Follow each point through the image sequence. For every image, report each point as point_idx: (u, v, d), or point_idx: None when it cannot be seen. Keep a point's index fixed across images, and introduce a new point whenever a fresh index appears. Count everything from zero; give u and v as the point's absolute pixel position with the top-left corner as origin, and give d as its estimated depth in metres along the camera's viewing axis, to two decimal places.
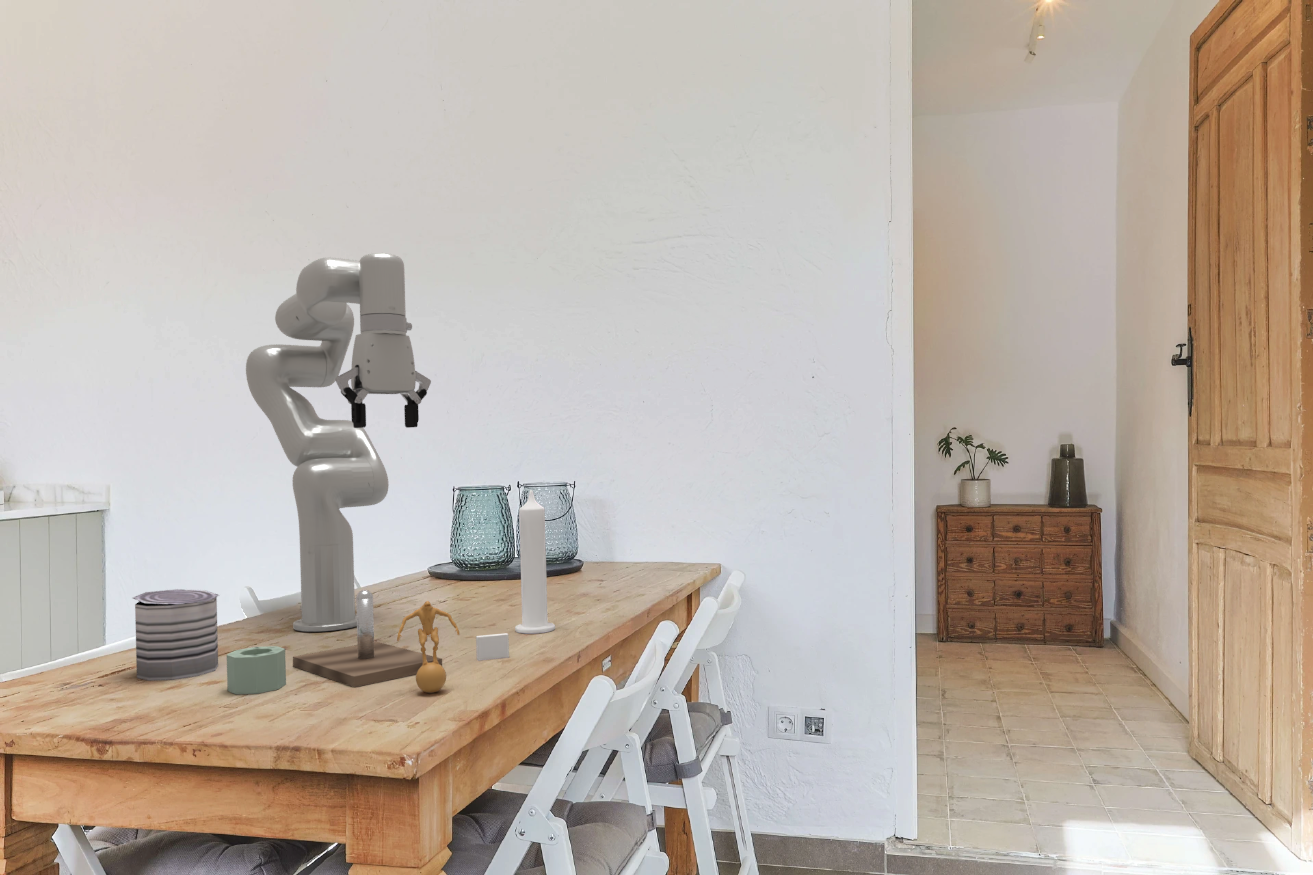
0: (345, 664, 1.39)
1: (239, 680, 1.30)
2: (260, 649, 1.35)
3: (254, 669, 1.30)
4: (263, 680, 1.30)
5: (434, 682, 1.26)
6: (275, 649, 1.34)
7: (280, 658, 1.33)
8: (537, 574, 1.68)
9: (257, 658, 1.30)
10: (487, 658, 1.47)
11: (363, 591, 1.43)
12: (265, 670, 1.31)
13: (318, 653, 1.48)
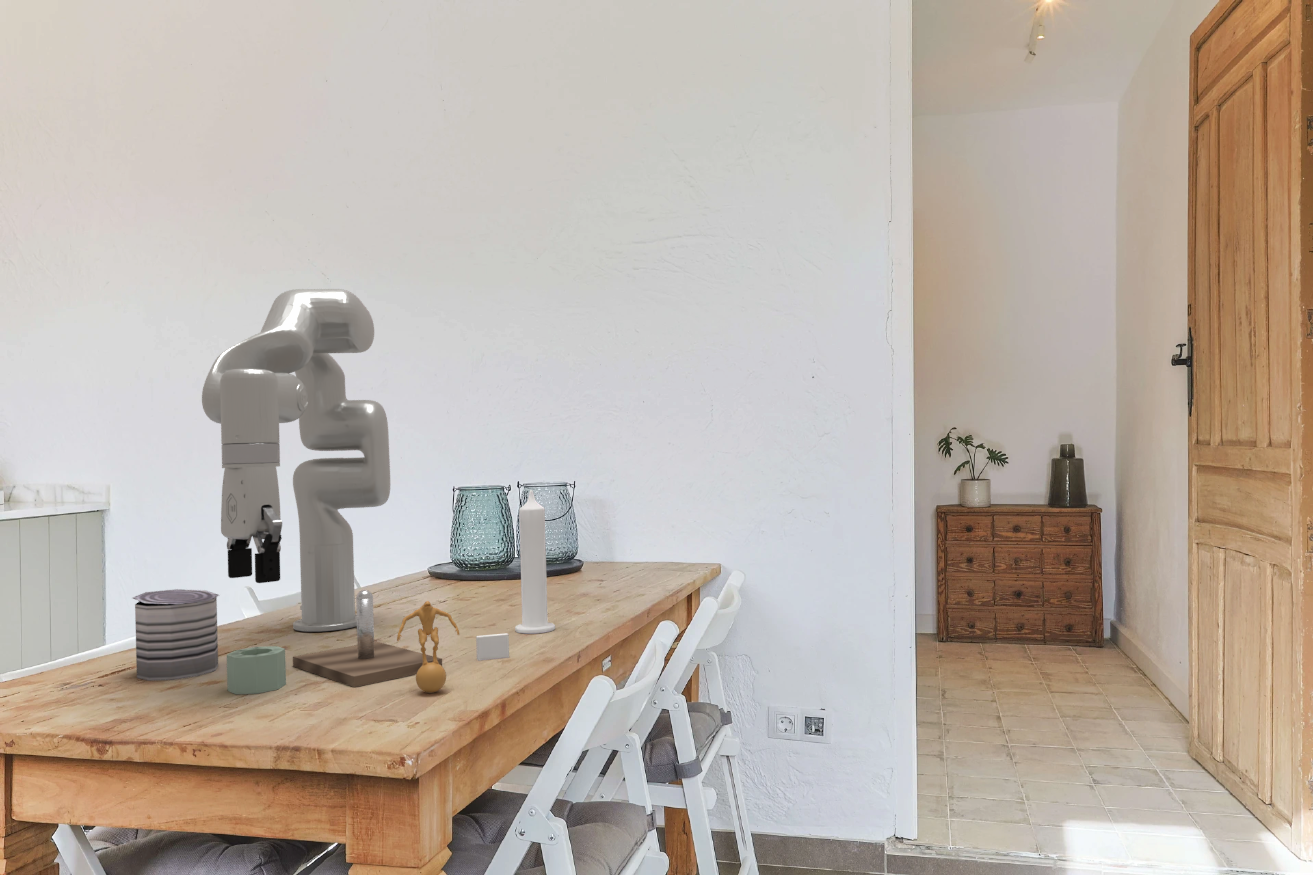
0: (345, 664, 1.39)
1: (239, 680, 1.30)
2: (260, 649, 1.35)
3: (254, 669, 1.30)
4: (263, 680, 1.30)
5: (434, 682, 1.26)
6: (275, 649, 1.34)
7: (280, 658, 1.33)
8: (537, 574, 1.68)
9: (257, 658, 1.30)
10: (487, 658, 1.47)
11: (363, 591, 1.43)
12: (265, 670, 1.31)
13: (318, 653, 1.48)
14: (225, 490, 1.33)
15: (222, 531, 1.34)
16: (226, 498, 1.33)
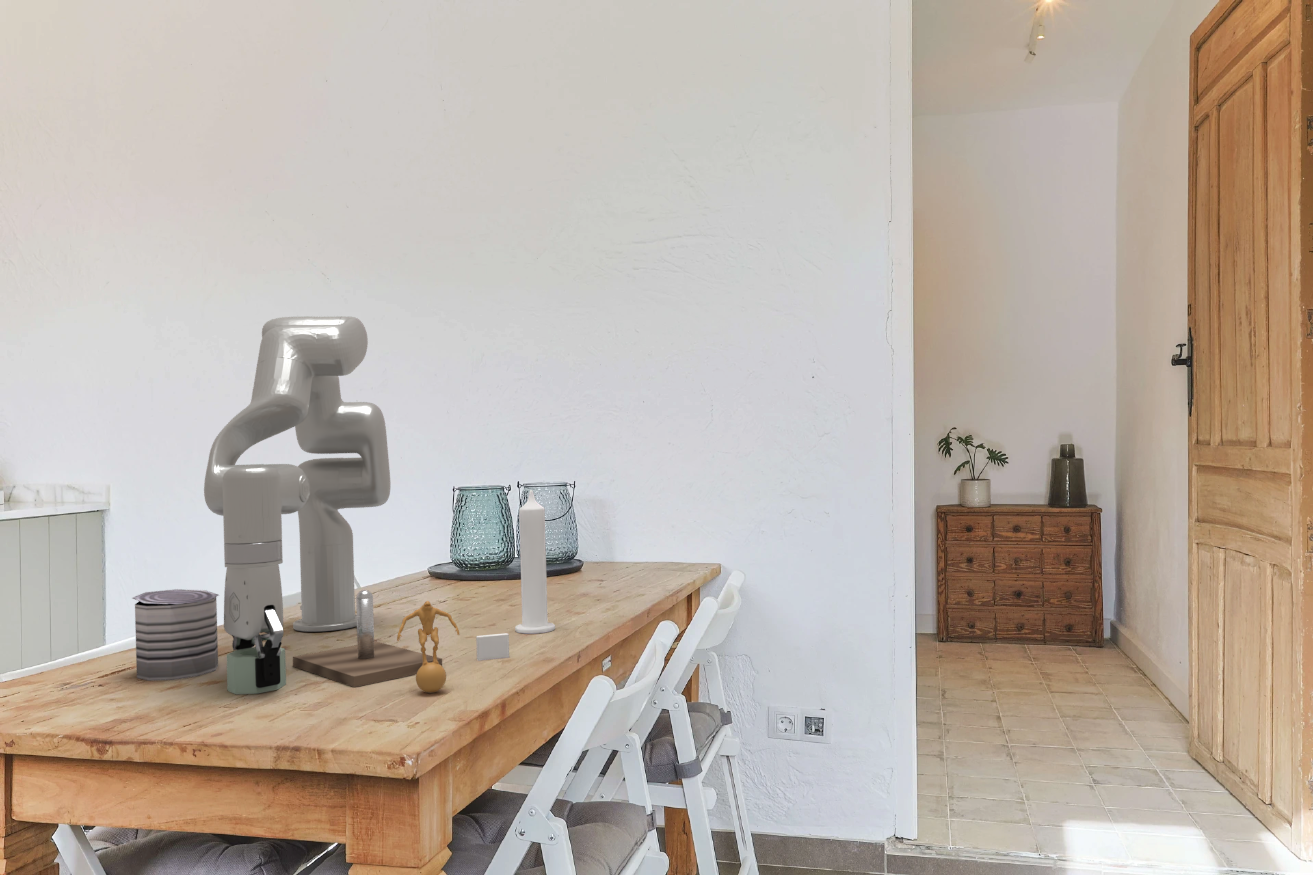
0: (345, 664, 1.39)
1: (239, 680, 1.30)
2: None
3: (254, 669, 1.30)
4: None
5: (434, 682, 1.26)
6: None
7: (280, 658, 1.33)
8: (537, 574, 1.68)
9: None
10: (487, 658, 1.47)
11: (363, 591, 1.43)
12: None
13: (318, 653, 1.48)
14: (228, 587, 1.33)
15: (225, 628, 1.34)
16: (229, 596, 1.33)
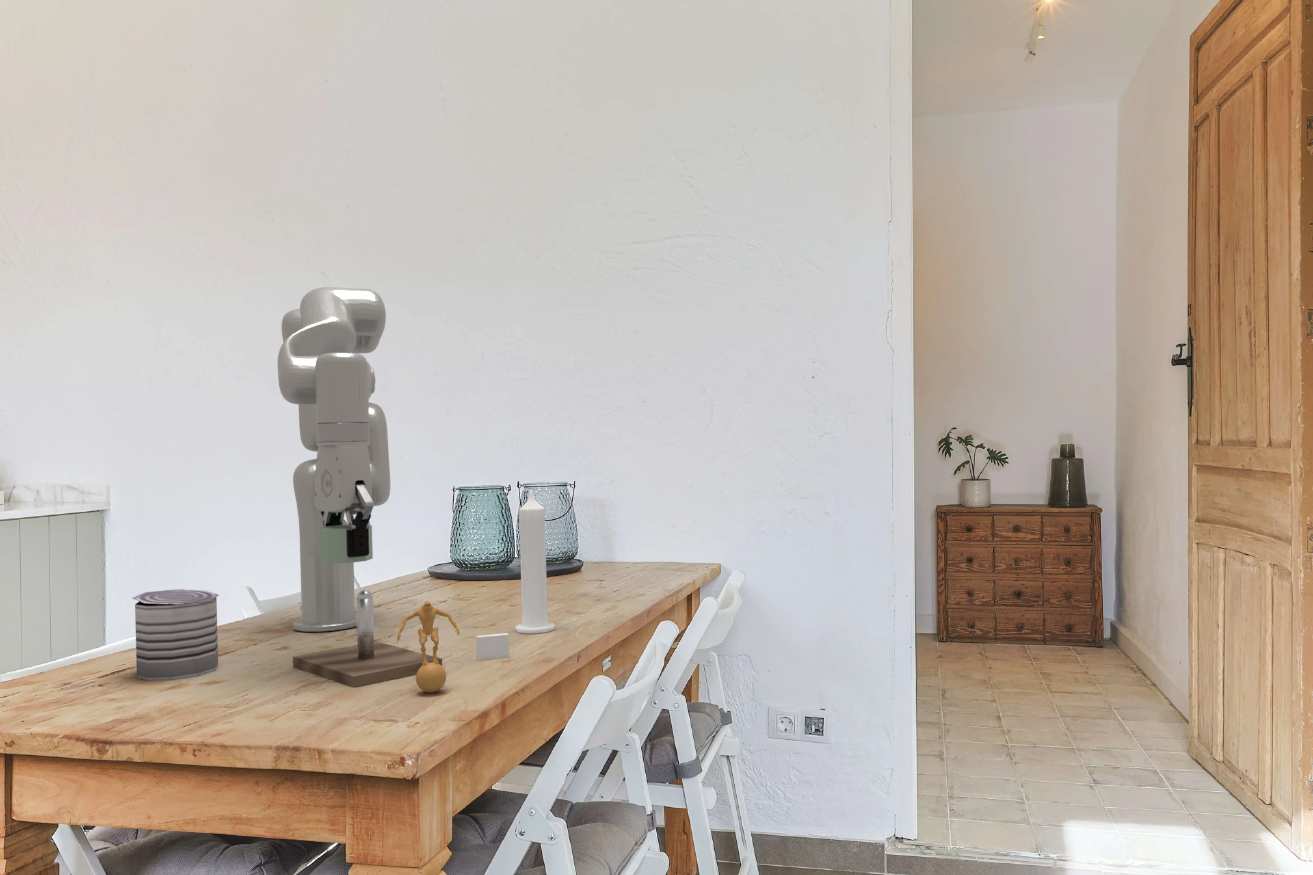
0: (345, 664, 1.39)
1: (331, 550, 1.39)
2: (348, 526, 1.44)
3: (345, 540, 1.39)
4: None
5: (434, 682, 1.26)
6: None
7: None
8: (537, 574, 1.68)
9: None
10: (487, 658, 1.47)
11: (363, 591, 1.43)
12: None
13: (318, 653, 1.48)
14: (320, 466, 1.42)
15: (316, 505, 1.43)
16: (321, 474, 1.42)
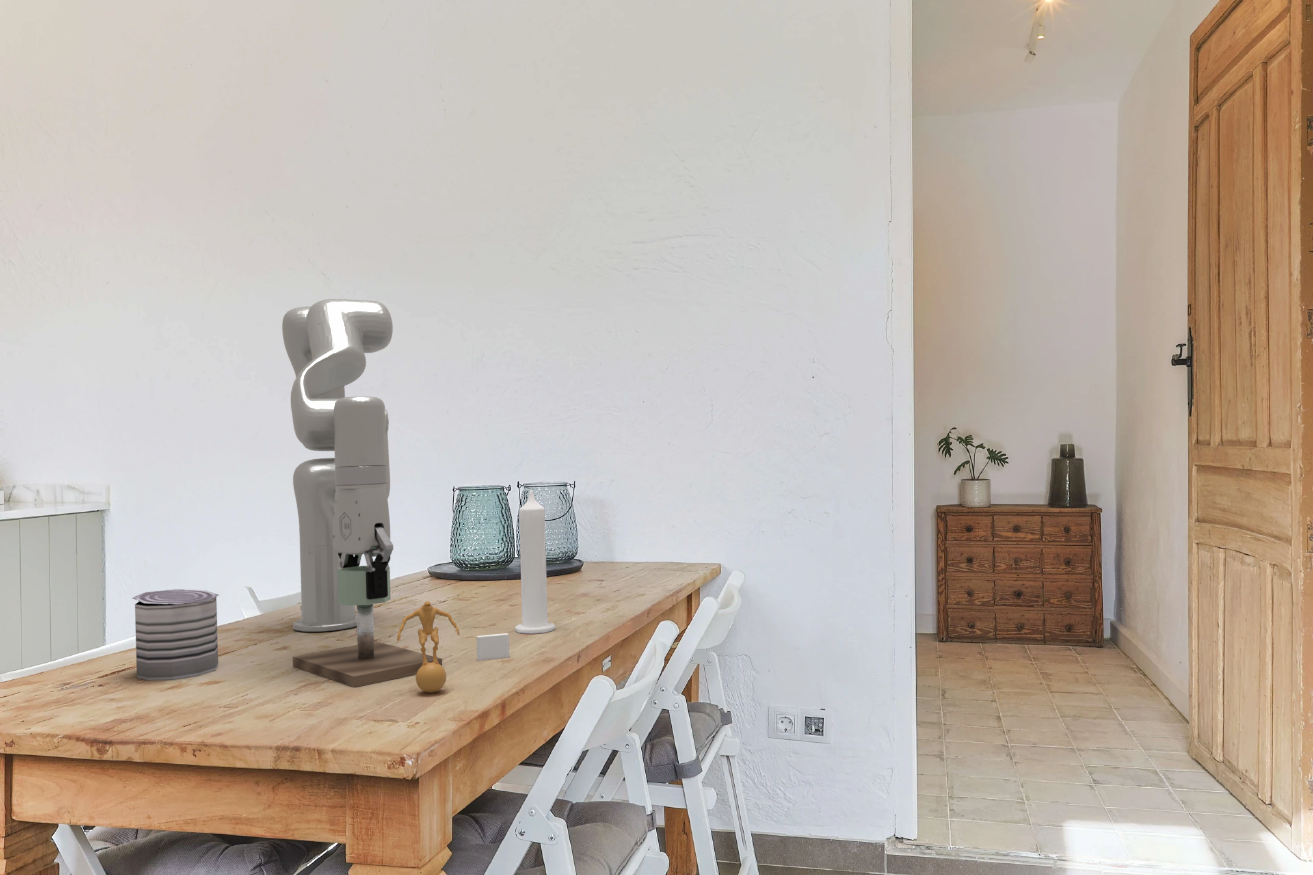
0: (345, 664, 1.39)
1: (350, 592, 1.40)
2: (366, 567, 1.46)
3: (364, 582, 1.40)
4: None
5: (434, 682, 1.26)
6: None
7: None
8: (537, 574, 1.68)
9: None
10: (487, 658, 1.47)
11: None
12: None
13: (318, 653, 1.48)
14: (338, 508, 1.43)
15: (334, 547, 1.45)
16: (339, 516, 1.43)
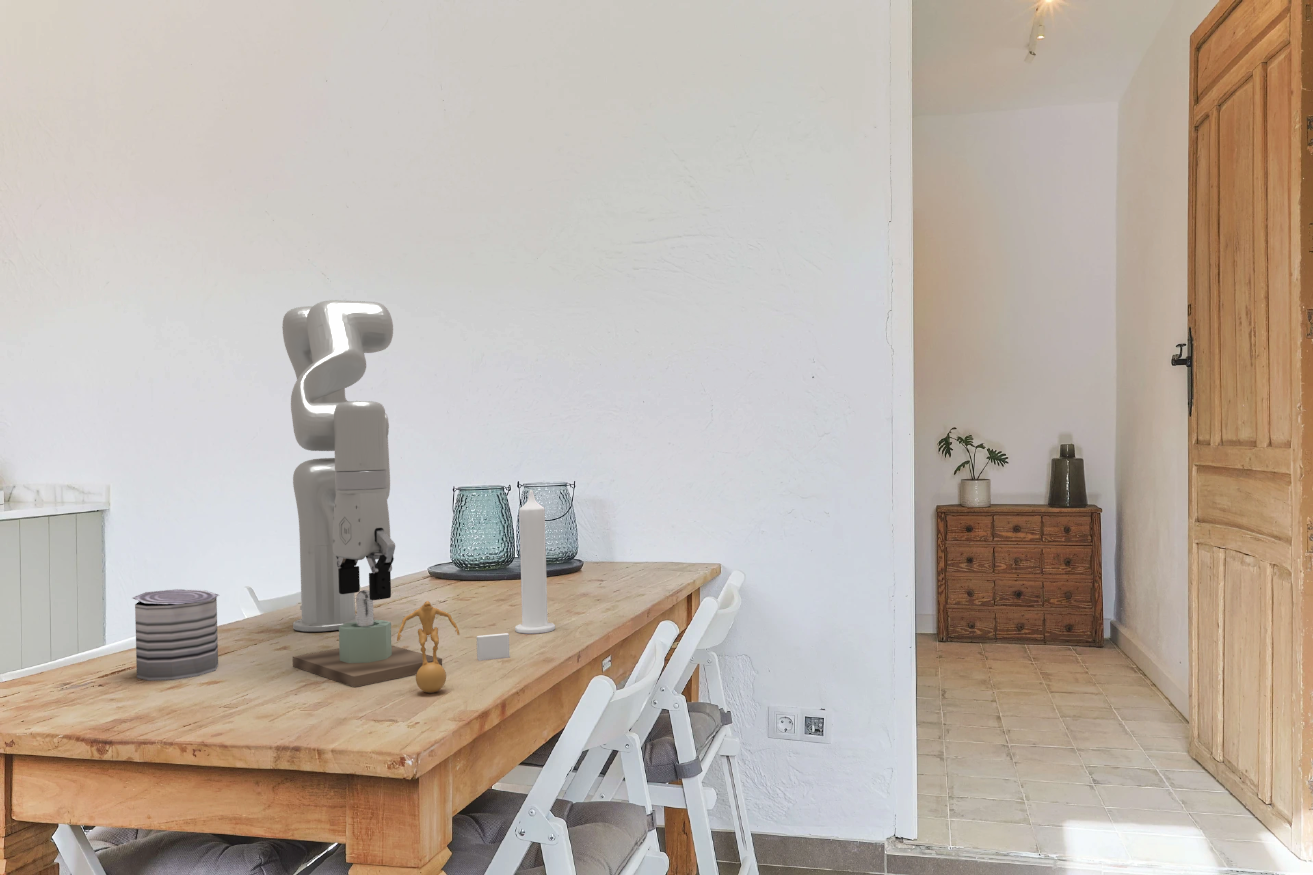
0: (345, 664, 1.39)
1: (352, 650, 1.40)
2: None
3: (366, 640, 1.40)
4: (374, 650, 1.41)
5: (434, 682, 1.26)
6: (382, 622, 1.45)
7: (388, 630, 1.43)
8: (537, 574, 1.68)
9: (369, 630, 1.40)
10: (488, 658, 1.47)
11: (363, 591, 1.43)
12: (376, 641, 1.41)
13: (318, 653, 1.48)
14: (338, 513, 1.43)
15: (334, 551, 1.45)
16: (339, 521, 1.43)
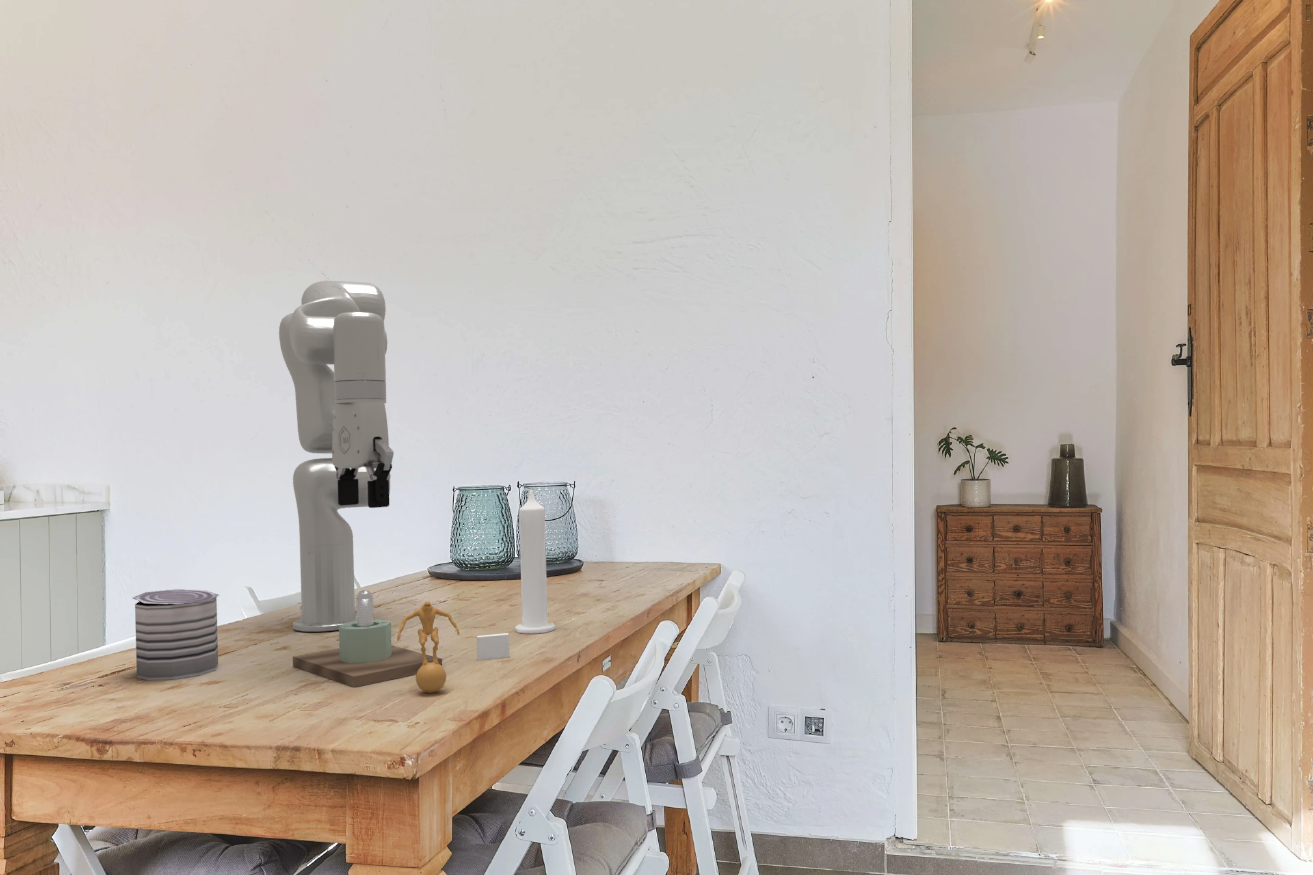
0: (345, 664, 1.39)
1: (352, 650, 1.40)
2: None
3: (366, 640, 1.40)
4: (374, 650, 1.41)
5: (434, 682, 1.26)
6: (382, 622, 1.45)
7: (388, 630, 1.43)
8: (537, 574, 1.68)
9: (369, 630, 1.40)
10: (488, 658, 1.47)
11: (363, 591, 1.43)
12: (376, 641, 1.41)
13: (318, 653, 1.48)
14: (337, 424, 1.45)
15: (334, 462, 1.46)
16: (338, 431, 1.45)
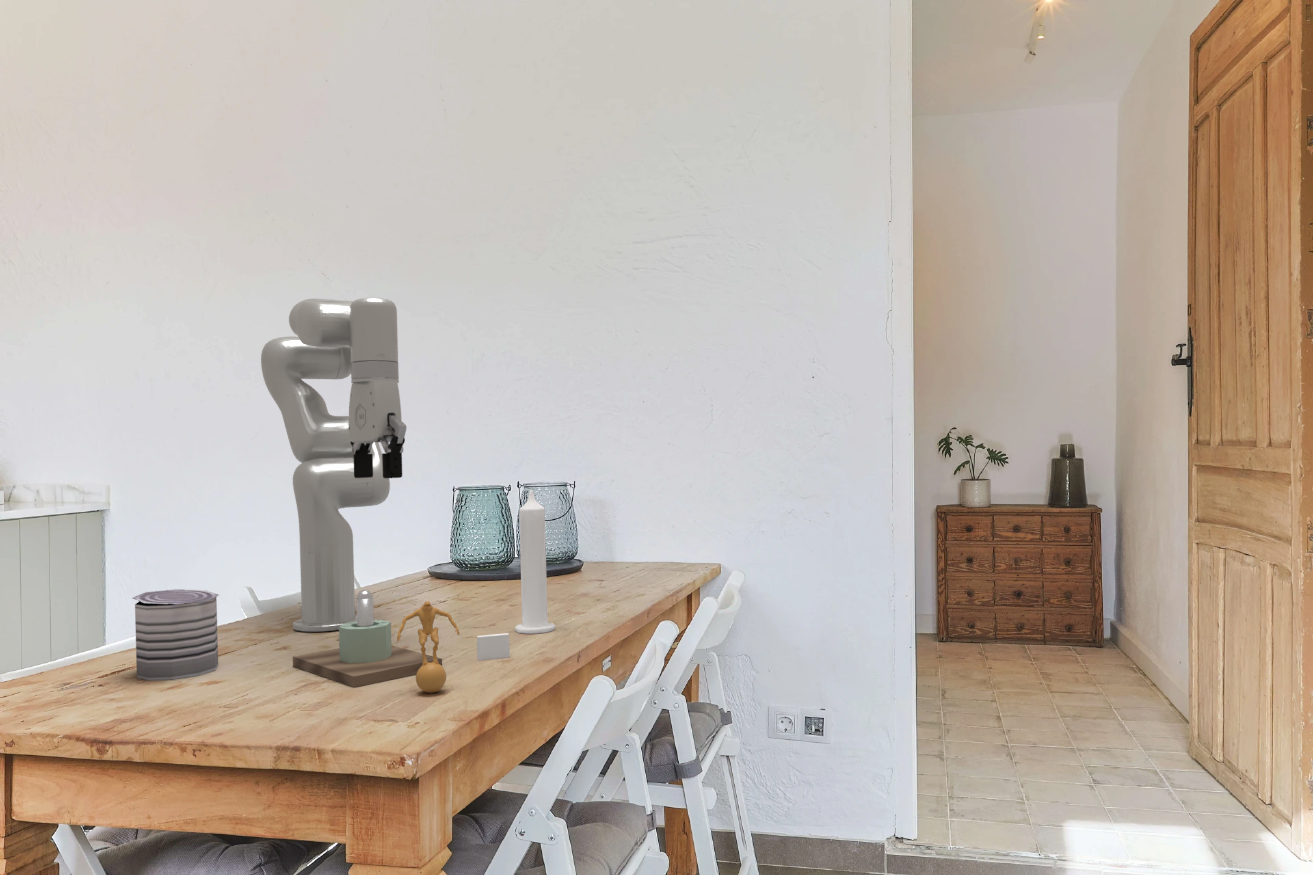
0: (345, 664, 1.39)
1: (352, 650, 1.40)
2: None
3: (366, 640, 1.40)
4: (374, 650, 1.41)
5: (434, 682, 1.26)
6: (382, 622, 1.45)
7: (388, 630, 1.43)
8: (537, 574, 1.68)
9: (369, 630, 1.40)
10: (488, 658, 1.47)
11: (363, 591, 1.43)
12: (376, 641, 1.41)
13: (318, 653, 1.48)
14: (354, 401, 1.56)
15: (350, 437, 1.57)
16: (354, 408, 1.56)
